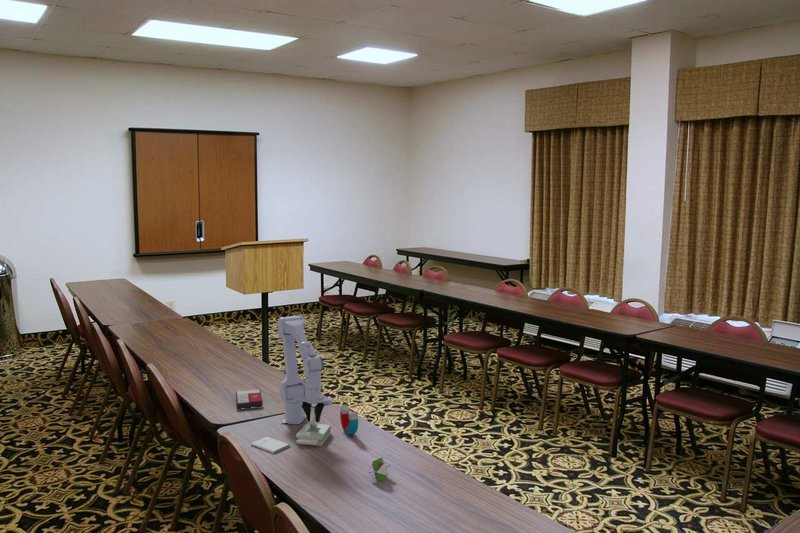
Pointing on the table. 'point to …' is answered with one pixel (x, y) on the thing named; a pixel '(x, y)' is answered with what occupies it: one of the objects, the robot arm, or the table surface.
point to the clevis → (313, 435)
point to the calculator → (248, 399)
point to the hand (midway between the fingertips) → (313, 421)
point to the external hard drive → (270, 444)
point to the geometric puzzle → (379, 469)
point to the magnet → (348, 420)
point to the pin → (313, 418)
